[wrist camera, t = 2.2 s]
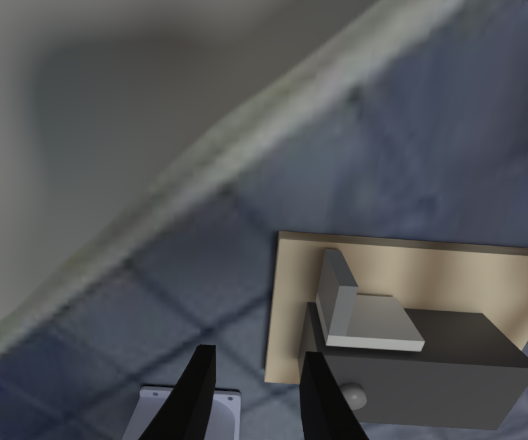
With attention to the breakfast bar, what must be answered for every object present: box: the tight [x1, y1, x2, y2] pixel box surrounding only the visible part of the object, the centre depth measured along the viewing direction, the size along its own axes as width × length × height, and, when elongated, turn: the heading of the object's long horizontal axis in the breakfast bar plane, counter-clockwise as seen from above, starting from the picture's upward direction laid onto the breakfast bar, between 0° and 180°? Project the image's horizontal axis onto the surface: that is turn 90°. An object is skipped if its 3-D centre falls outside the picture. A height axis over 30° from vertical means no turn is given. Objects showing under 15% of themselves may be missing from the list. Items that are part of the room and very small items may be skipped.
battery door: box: [316, 249, 425, 351], centre depth 17 cm, size 6×4×4 cm
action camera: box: [298, 302, 528, 430], centre depth 18 cm, size 14×6×5 cm, turn 86°
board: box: [265, 231, 528, 384], centre depth 21 cm, size 20×14×1 cm
